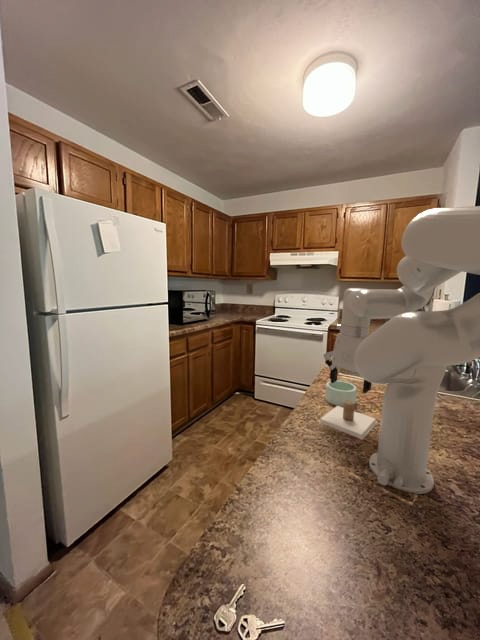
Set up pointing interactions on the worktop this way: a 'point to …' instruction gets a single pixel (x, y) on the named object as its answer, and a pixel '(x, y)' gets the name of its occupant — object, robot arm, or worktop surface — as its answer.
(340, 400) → the bowl
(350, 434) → the mat
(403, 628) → the worktop surface
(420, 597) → the worktop surface
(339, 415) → the cover
